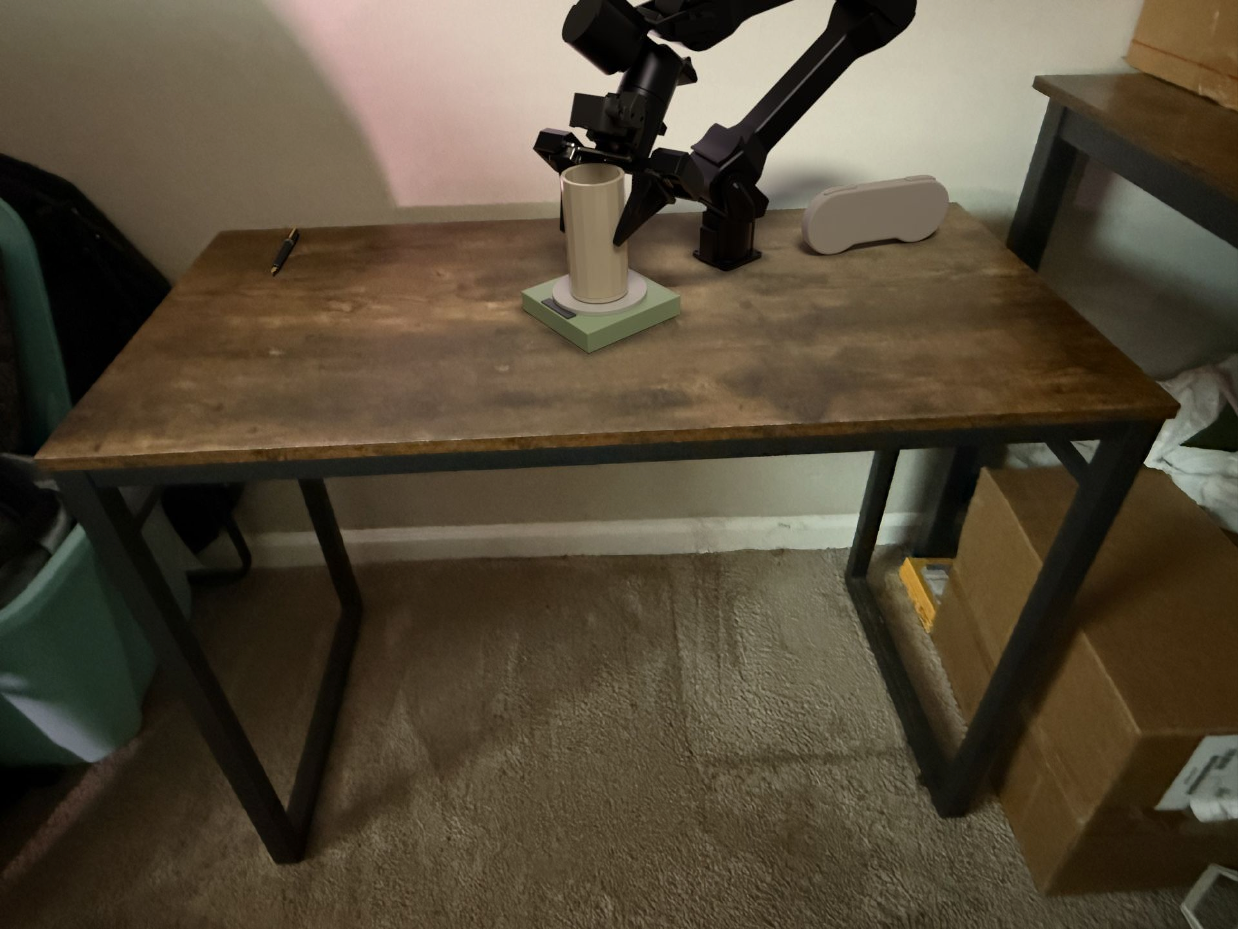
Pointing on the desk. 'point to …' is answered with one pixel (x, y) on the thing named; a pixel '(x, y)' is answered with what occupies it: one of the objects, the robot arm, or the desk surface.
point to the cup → (594, 231)
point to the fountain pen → (285, 249)
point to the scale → (600, 311)
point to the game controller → (874, 213)
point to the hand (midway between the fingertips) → (588, 238)
